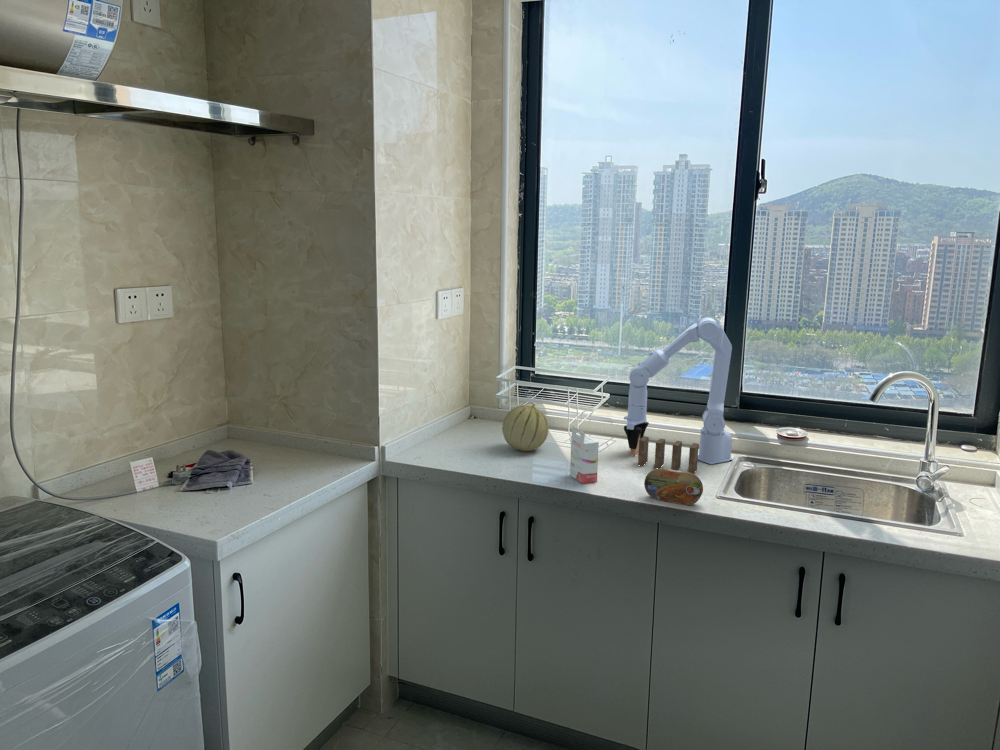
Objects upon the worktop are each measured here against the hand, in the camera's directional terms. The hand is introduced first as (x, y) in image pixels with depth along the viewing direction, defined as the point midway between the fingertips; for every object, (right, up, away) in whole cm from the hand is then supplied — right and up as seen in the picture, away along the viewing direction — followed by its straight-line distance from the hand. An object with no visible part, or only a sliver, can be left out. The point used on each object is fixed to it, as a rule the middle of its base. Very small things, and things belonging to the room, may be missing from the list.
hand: (635, 446), depth 233 cm
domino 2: (+1, -4, -10) cm, 11 cm away
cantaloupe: (-35, -2, +2) cm, 35 cm away
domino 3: (+5, -5, -12) cm, 14 cm away
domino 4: (+10, -5, -14) cm, 18 cm away
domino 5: (+14, -6, -16) cm, 22 cm away
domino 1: (0, -2, 0) cm, 2 cm away
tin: (+3, -11, -40) cm, 41 cm away
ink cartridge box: (-19, -7, -24) cm, 31 cm away
